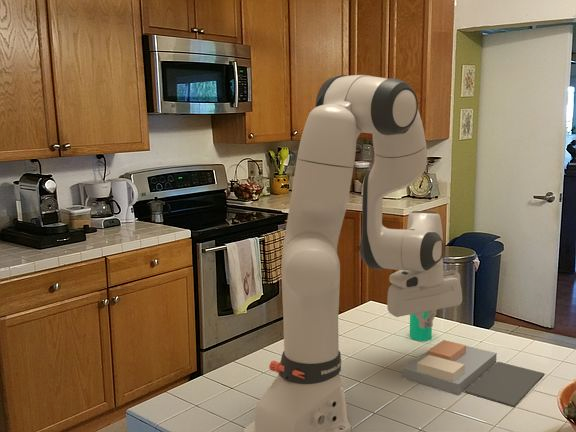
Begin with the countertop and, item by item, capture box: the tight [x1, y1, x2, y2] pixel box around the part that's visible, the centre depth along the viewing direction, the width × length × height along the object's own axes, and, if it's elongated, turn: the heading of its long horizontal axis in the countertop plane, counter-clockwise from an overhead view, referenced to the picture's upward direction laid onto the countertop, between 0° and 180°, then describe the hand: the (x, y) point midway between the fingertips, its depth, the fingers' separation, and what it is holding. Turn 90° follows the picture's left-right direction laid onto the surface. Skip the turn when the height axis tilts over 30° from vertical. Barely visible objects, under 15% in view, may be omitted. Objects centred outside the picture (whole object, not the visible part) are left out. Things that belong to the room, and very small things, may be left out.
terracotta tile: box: [426, 339, 467, 361], centre depth 141 cm, size 9×6×2 cm, turn 139°
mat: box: [463, 361, 545, 408], centre depth 131 cm, size 20×11×1 cm, turn 139°
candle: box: [409, 311, 433, 342], centre depth 160 cm, size 6×6×12 cm
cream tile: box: [417, 355, 465, 381], centre depth 132 cm, size 9×6×2 cm, turn 49°
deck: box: [401, 345, 498, 396], centre depth 139 cm, size 22×14×2 cm, turn 139°
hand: (425, 327), depth 145 cm, fingers closed
